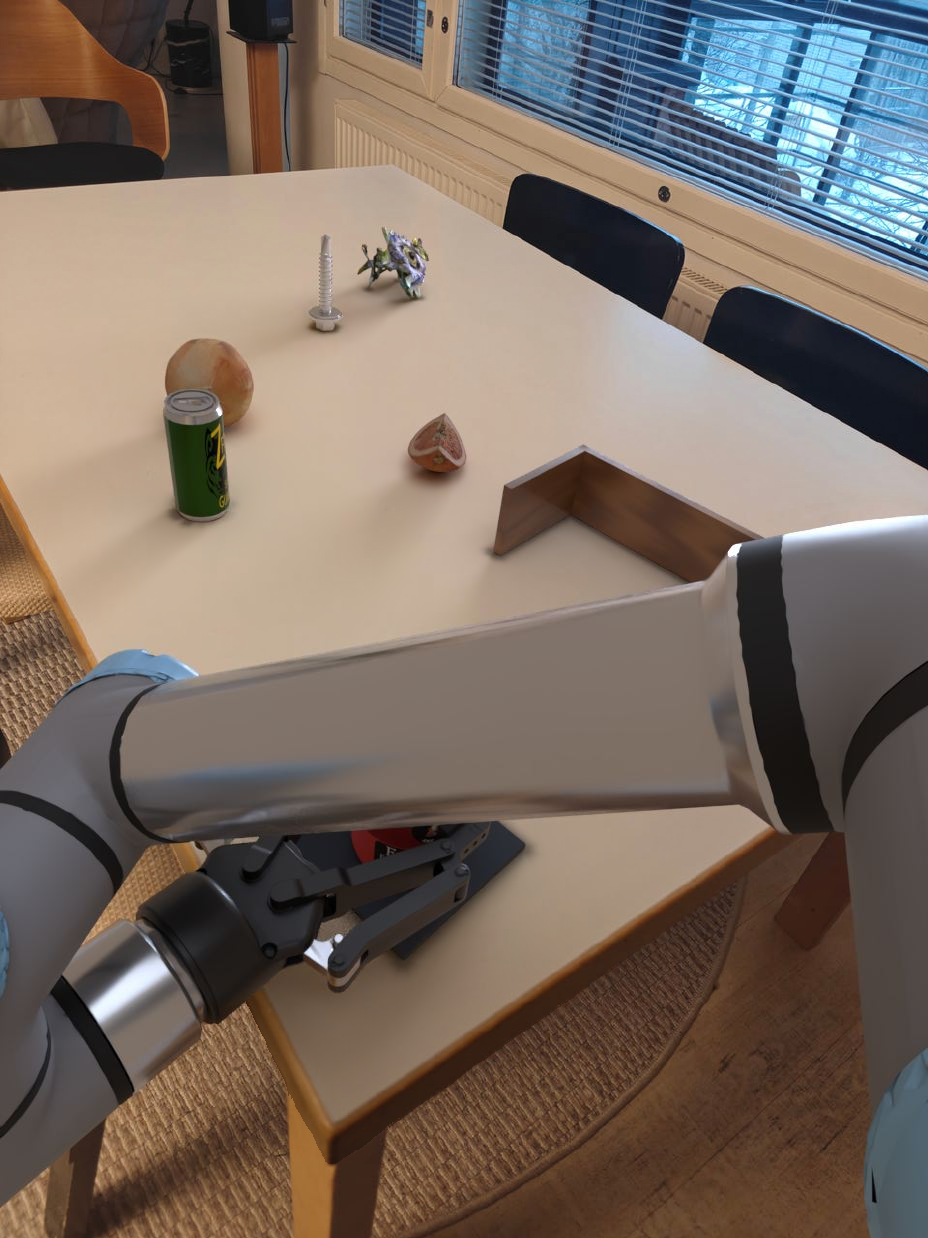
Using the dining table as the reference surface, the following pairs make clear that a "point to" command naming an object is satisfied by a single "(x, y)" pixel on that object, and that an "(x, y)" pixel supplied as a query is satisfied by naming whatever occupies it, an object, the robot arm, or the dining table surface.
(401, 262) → the passion flower
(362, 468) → the dining table surface
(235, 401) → the onion
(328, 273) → the screw
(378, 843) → the canned food
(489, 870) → the mat
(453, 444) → the fruit slice
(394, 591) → the dining table surface
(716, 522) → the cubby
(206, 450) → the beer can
